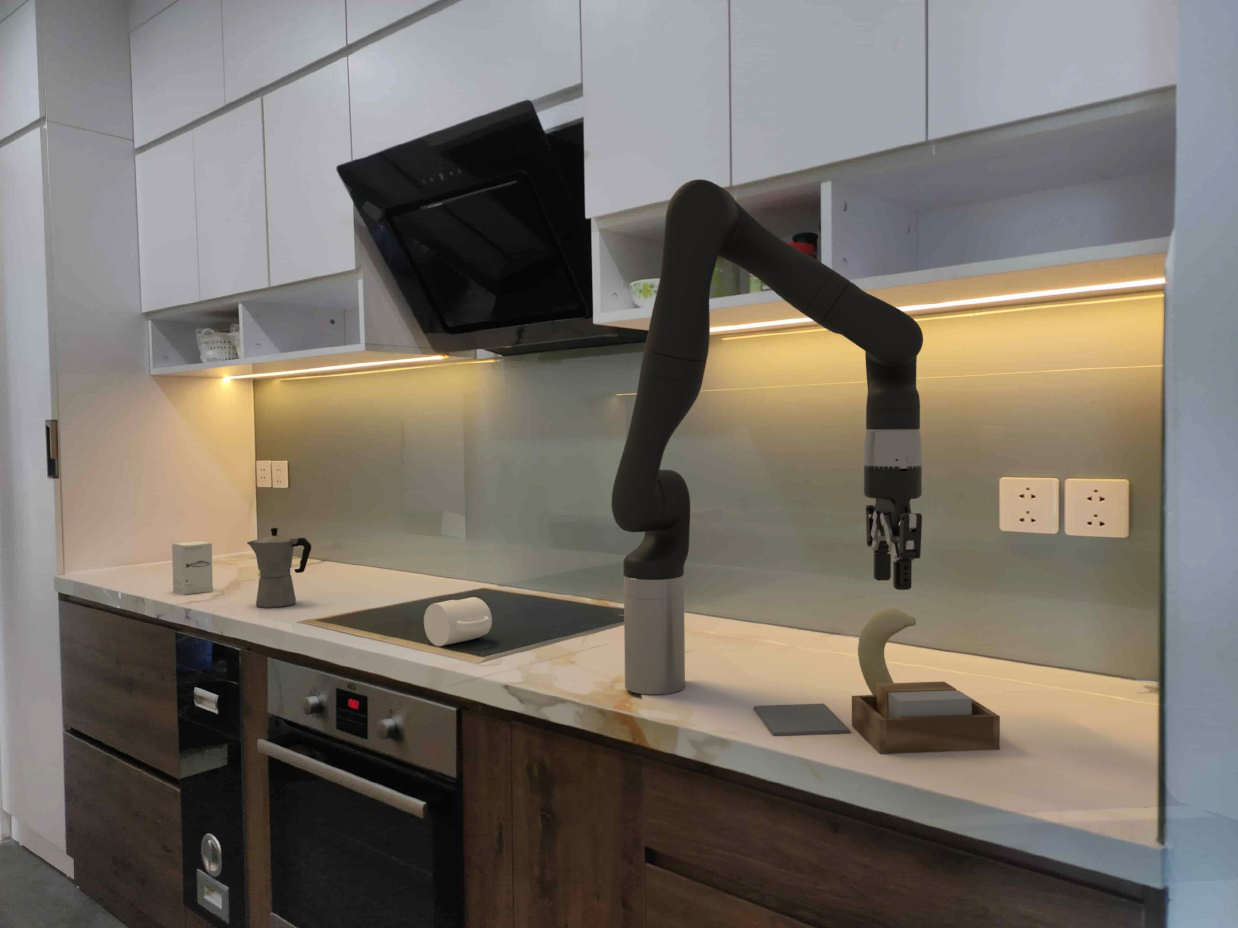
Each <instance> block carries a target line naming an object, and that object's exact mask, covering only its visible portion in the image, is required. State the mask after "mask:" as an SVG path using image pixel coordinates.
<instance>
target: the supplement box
mask: <svg viewBox="0 0 1238 928" xmlns="http://www.w3.org/2000/svg"><path fill="white" fill-rule="evenodd" d="M212 545H213V544H212V542H208V541H202V540H199V541H189V542H188V541H187V542H185V541H184V542H177V543H172V544H171V551H172V552H171V553H172V561H171V562H172V592H173V593H176V594H179V595H181V596H186V595H192V594H201V593H209V592H210V591H212V592H213V589H214V586H213V585H214V584H213V546H212Z"/></svg>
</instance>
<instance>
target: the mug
mask: <svg viewBox="0 0 1238 928" xmlns="http://www.w3.org/2000/svg"><path fill="white" fill-rule="evenodd" d="M492 617H493V616H492V612H491V610H490V607H489V606H488V604H486V602H485V601H483V600H482V599H481V598H478V597H475V596H474V597H467V598H462V599H450V600H446V601H445V600H444V601H440V602H436V603H431V604H430V605H429V606H428V607H426V609H425V612H424V615H423V626H424V627H423V628H424V631H425V634H426V637H427V639H428V640H429V641H430V643H431V644H432V645H434V646H436V647H443V646H447V645H453V644H457V643H462V642H467V641H472V640H475V639H478V638H480V637H483V636H485V635H486V634H488V633H489V632H490V630H491V629H492V625H493V618H492Z"/></svg>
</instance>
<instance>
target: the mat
mask: <svg viewBox="0 0 1238 928" xmlns="http://www.w3.org/2000/svg"><path fill="white" fill-rule="evenodd" d="M753 710H754V711H755V713H756V714H757V715H758V716H759V718H760V720H761V721H762V722H763V724H764V725H765V726H766V728H767V729H768V731H769V733H770V734H771V735H772V736H774V735H775V736H776V737H777V736H799V735H825V734H826V735H827V734H828V735H829V734H850V733H851V729H850V728H849V727H848V726H847V724H845V723H844V722H843V721H842V720H841V719H840V718H839V717H838V716H837V715H836V714H835V713H834V712H833V711H832V710H831V709H830V708H829V707H828V706H827V705H826V704H825V702H824V703H800V704H798V703H797V704H796V703H795V704H772V705H771V704H770V705H753Z"/></svg>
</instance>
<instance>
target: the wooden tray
mask: <svg viewBox="0 0 1238 928" xmlns="http://www.w3.org/2000/svg"><path fill="white" fill-rule="evenodd" d="M962 693H963V694H965V693H964V692H962ZM967 696H968V695H967ZM968 697H970V696H968ZM970 698H971V697H970ZM971 699H972V715H958V716H930V717H902V718H883V717H882V716H881V715H880V714H879V713H877V695H873V694H865V695H864V694H863V695H861V694H860V695H851V726H852V728H853V729H855V731H856V732H857V733H858V734H859V735H860V736H861V737H863V739H865V740H866V742H867V743H868V744H870V745H871V746H872V747H873V749H875V750H876V751H877V752H878V753H879V755H880V754H882V755H883V754H902V753H903V754H904V753H908V754H909V753H929V752H930V753H932V752H934V753H935V752H958V751H960V752H961V751H981V750H982V751H983V750H986V751H987V750H1000V748H1001V743H1000V742H1001V741H1000V739H1001V738H1000V737H1001V732H1000V731H1001V729H1000V726H1001V722H1000V721H1001V719H1000V718H1001V716H1000V715H998V714H997V713H996V712H994V711H992V710H991V709H989V708H988V707H986V706H984V705H983V704H981V703H980V702H978V701H977V700H975V699H973V698H971Z"/></svg>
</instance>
